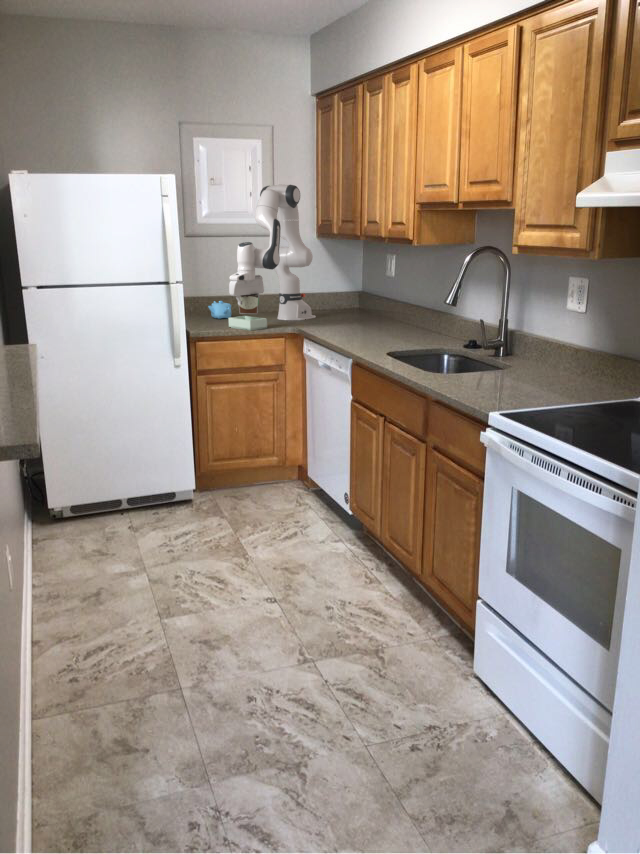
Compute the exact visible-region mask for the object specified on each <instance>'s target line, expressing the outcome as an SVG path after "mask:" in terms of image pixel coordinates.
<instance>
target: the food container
mask: <svg viewBox="0 0 640 854" xmlns="http://www.w3.org/2000/svg"><path fill="white" fill-rule="evenodd" d="M260 299H261V295H260V294H259V293H256V294H250V295H241V298H240V300H241V301H242V305H238V309H239V315H240V314H241V315H258V314H259V304H260V301H259V300H260Z"/></svg>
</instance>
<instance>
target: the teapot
mask: <svg viewBox="0 0 640 854" xmlns="http://www.w3.org/2000/svg"><path fill="white" fill-rule="evenodd" d="M207 307H208V309H209V311H210V316H211V317H212V318H214V319H217V320H222V319H225V320H228V318H231V317H232V304H231V303H229V302H228V303H227V302H224V301H223V300H219V301H218V302H216V301H215V300H214V301H213V303H211V305H208V306H207Z"/></svg>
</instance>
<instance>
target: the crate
mask: <svg viewBox="0 0 640 854" xmlns="http://www.w3.org/2000/svg"><path fill="white" fill-rule="evenodd" d="M227 320H228V328H229V327H231V328H230V329H234V330H235V329H236V330H243V331H249V332H251V331H258V330H265V329H268V318H265V317H258V316H249V315H242V316H231V317H229V318H228V319H227Z"/></svg>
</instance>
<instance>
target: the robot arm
mask: <svg viewBox="0 0 640 854" xmlns="http://www.w3.org/2000/svg"><path fill="white" fill-rule="evenodd" d="M300 201H301V191H300V189H299V188H298V186H297V185H294V184H276V185H266V186H264V187H262V189H261V190H260V193H259V199H258V202H257V204H256V208H255V212H254V218H255V221H256V224H258V226H260V227H261V228H263V229H265V230H267V231H269V243H268V247H267V248H257V247H255V246H254V243H253V242H249V241H246V242H240V243H238V245H237V249H236V263H237V270H236V271H237V272H235V273H233V274H231V275H230V276H229V284H228V293H229V296H231V297H235V299H236V301H237V305H238V306H239V305H242V301H241V300H240V298H241V295H250V294H256V293H259V295H260V294H263V293H264V292H265V287H264V281H263V277H262V276H261V274H256V269H265V270H274V272H275V273H276V275H277V277H278V284H279V292H278V300H279V305H278V312H277V313H278V315H277V318H276V320H282V321H304V320H305V319H306V320H310V319H311V320H312V319H315V318H316V317H317V316H316V315H313V314H312V307H311V306H310V305H309V304H308V303H307V302H305V301H304V300H303V298H305V297H306V293H301V291H300V289H301V287H300V286H301V285H300V284H301V283H300V282H301V281H300V278H299V277H298V275H296V274H294V273H292V272H291V270H290V268H305V267H309V266H310V265H311V264H312V262H313V257H314V256H313V253H312V251H311V249H310V248H309V247H308V246H306V244H305V243H304V242H303V240H302V237H301V232H300V215H299V206H298V204H299V202H300ZM281 239H283V240H285V241H286V242H287V243H288V246H281V245H280V244H281V243H280V242H281Z"/></svg>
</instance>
